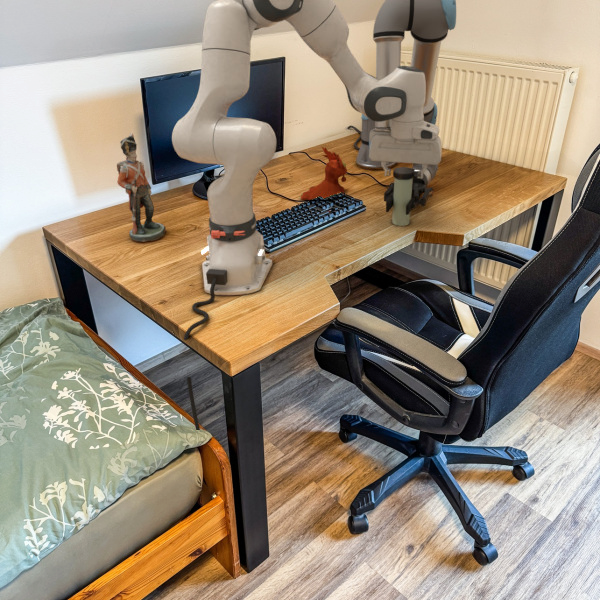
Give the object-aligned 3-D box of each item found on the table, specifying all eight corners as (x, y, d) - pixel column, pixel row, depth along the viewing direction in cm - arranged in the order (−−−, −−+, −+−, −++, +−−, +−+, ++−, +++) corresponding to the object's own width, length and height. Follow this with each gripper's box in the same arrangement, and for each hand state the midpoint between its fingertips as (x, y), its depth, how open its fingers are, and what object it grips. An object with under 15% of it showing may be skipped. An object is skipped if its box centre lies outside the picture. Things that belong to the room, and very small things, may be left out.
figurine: (157, 243, 164) (137, 141, 148) (123, 241, 166) (100, 140, 150) (171, 228, 173) (154, 130, 157) (139, 226, 175) (119, 129, 159)
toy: (355, 194, 190) (356, 151, 182) (309, 205, 184) (308, 160, 176) (337, 183, 200) (337, 141, 192) (293, 193, 193) (291, 150, 186)
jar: (410, 225, 168) (414, 175, 160) (393, 226, 168) (396, 175, 160) (407, 218, 173) (411, 169, 164) (390, 219, 173) (393, 169, 164)
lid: (416, 173, 164) (416, 167, 163) (412, 180, 159) (413, 174, 159) (395, 171, 166) (395, 166, 165) (391, 178, 161) (391, 173, 160)
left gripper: (367, 130, 156) (366, 178, 163) (442, 133, 150) (437, 183, 158) (372, 124, 161) (370, 170, 168) (445, 127, 155) (440, 175, 163)
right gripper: (443, 196, 180) (427, 225, 162) (388, 189, 186) (366, 217, 168) (446, 173, 176) (429, 200, 158) (389, 167, 182) (367, 193, 164)
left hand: (403, 176), depth 163 cm, fingers open, 8 cm apart
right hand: (397, 209), depth 163 cm, fingers closed on jar, 5 cm apart
